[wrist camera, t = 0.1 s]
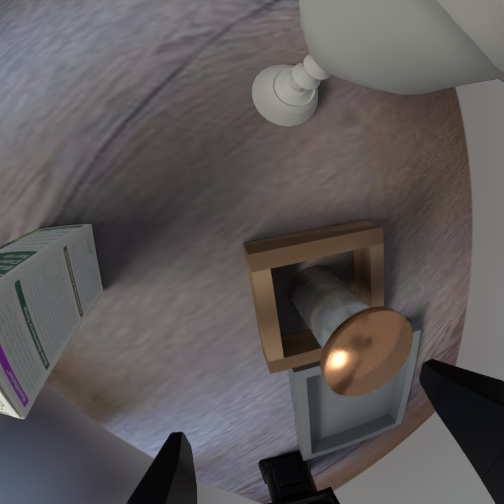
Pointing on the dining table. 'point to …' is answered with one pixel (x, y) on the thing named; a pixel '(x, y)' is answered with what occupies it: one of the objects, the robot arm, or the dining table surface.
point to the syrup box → (42, 306)
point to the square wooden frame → (303, 249)
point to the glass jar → (351, 333)
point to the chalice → (385, 51)
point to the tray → (346, 407)
